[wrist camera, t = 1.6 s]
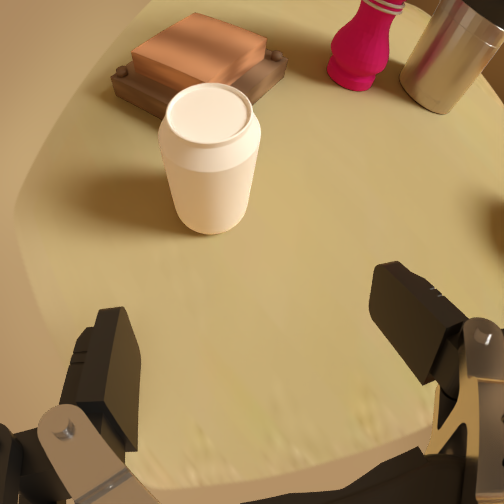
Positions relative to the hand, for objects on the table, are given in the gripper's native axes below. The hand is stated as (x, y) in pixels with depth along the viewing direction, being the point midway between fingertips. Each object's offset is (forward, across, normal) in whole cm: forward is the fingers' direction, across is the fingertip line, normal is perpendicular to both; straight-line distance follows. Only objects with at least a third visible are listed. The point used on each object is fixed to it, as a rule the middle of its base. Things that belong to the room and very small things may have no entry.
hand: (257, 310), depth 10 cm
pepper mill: (+31, -20, -9) cm, 38 cm away
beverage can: (+19, 0, +3) cm, 20 cm away
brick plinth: (+31, -1, -9) cm, 32 cm away
